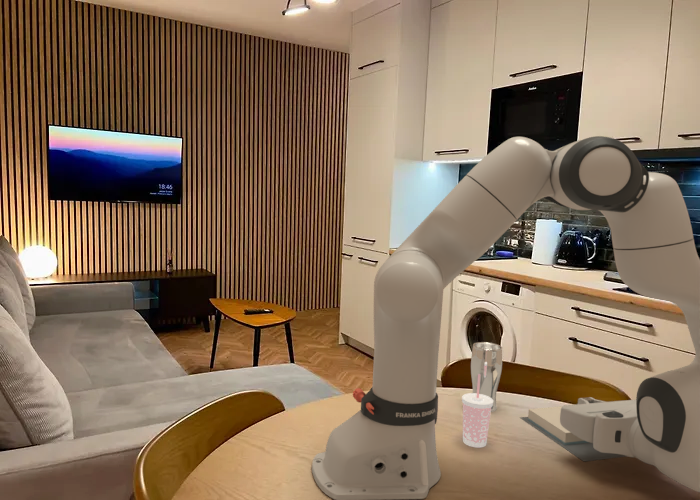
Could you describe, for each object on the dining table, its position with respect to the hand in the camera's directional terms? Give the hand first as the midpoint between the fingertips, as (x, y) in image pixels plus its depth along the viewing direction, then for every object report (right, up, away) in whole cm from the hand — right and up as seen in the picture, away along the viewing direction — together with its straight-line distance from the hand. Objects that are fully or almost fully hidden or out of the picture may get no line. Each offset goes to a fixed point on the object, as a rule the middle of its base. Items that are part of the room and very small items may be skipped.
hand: (583, 401), depth 105 cm
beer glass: (-16, -7, +16) cm, 24 cm away
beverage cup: (-23, -8, -2) cm, 24 cm away
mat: (-1, -8, +3) cm, 9 cm away
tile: (0, -7, -1) cm, 7 cm away
